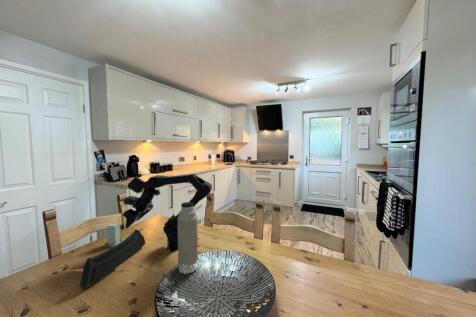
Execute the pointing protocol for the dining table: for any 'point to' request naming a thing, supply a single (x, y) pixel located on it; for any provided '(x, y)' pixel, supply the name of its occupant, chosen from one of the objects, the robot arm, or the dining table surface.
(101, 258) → the magazine
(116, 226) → the pale green block
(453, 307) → the dining table surface
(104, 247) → the rack
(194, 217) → the thermos bottle
